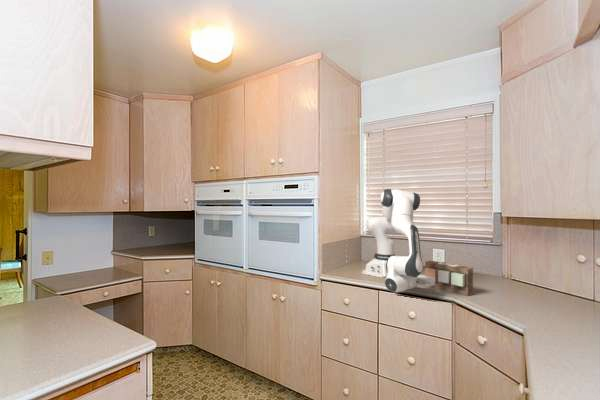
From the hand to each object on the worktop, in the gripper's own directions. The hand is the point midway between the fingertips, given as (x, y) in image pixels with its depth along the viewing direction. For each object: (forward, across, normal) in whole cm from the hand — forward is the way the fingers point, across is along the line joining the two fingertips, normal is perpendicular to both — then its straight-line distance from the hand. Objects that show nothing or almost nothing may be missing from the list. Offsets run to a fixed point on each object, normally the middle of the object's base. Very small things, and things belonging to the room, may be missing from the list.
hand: (423, 276), depth 172 cm
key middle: (+9, -8, +3) cm, 12 cm away
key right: (+9, -15, +3) cm, 18 cm away
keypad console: (+12, -8, +8) cm, 17 cm away
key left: (+9, 0, +3) cm, 10 cm away
